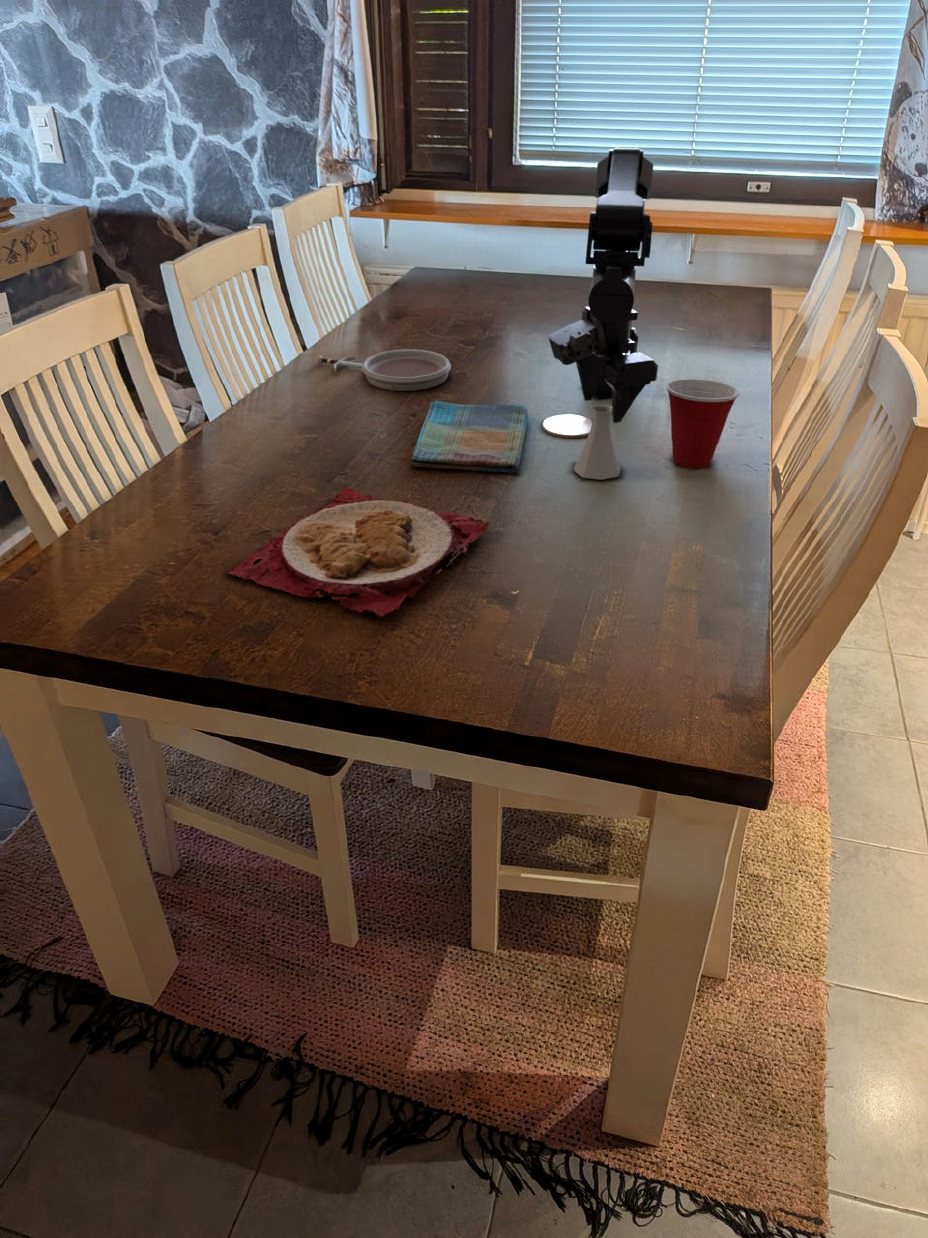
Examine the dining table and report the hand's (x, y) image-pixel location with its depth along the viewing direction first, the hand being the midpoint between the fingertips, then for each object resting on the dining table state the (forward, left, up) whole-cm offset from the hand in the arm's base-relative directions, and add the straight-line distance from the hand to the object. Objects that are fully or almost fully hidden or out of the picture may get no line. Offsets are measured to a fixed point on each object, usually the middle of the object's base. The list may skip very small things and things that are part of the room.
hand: (602, 410), depth 133 cm
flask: (0, 0, -10) cm, 10 cm away
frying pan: (+19, -54, -10) cm, 58 cm away
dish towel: (+14, -17, -10) cm, 24 cm away
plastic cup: (-16, +2, -10) cm, 19 cm away
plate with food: (+40, +12, -10) cm, 43 cm away
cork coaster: (-3, -17, -10) cm, 20 cm away
